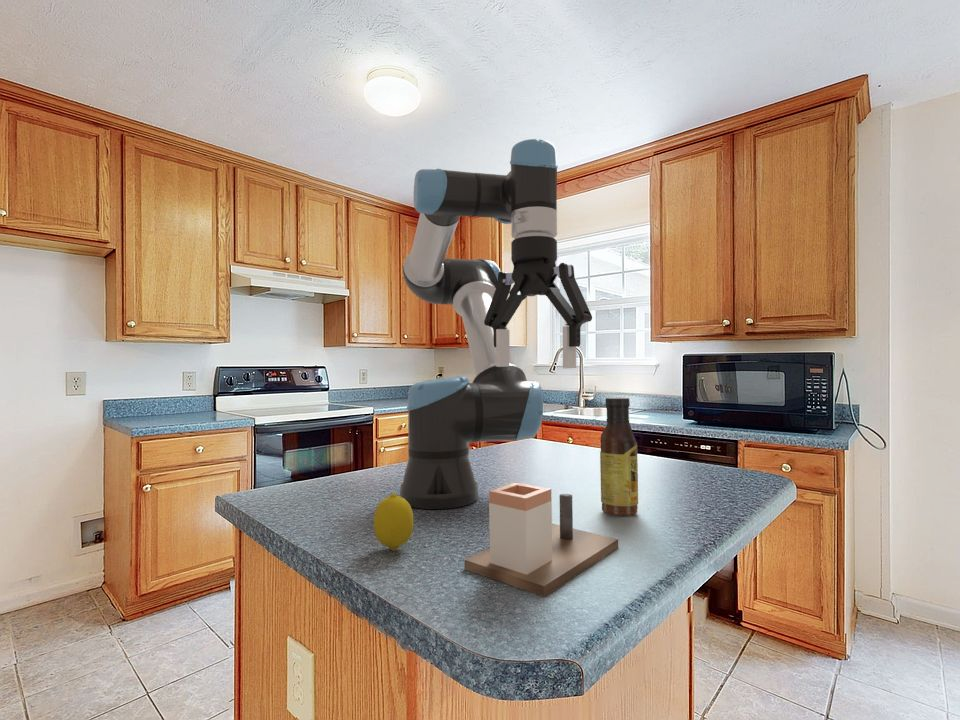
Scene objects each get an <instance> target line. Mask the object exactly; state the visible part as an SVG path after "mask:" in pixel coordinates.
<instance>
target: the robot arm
mask: <svg viewBox="0 0 960 720" xmlns="http://www.w3.org/2000/svg"><path fill="white" fill-rule="evenodd" d="M510 153H511V154H510V161H509V164H510V170H509V172H508V173H507V174H494V173H482V172H481V173H480V172H469V171H460V170H459V171H457V170H446V169H441V168H436V169H431V168H430V169H428V168H427V169H426V168H424V169H422V168H421V169H419V170H418V171H416V173H415V176H414V181H413V182H414V184H413V207H414V209H415V211H416V212H417V213H419V217H418V222H417V225H416V229H415V234H414V237H413V238H414V239H413V242H412V247H411V251H410V252H409V253H408V254H407V256H406V257H405V259H404V261H403V266H402V276H403V279H404V282H405V285H406V286H407V288H408V289H409V290H410V291H411V292H412V294H414V295H415V296H416V297H417V298H419V299H421V300H422V301H424V302H426V303H429V304H433V305H452V306H453V309H454V311H455V312H456V314H458V315H459V316H461V319H462V321H463V327H464V330H465V334H466V339H467V343H468V347H469V352H470V356H471V361H472V364H473V369H474V374H475V376H474V377H473V380H472V382H470V380H469V379H468V376H467V375H466V376H465V375H456V376H448V377H441V378H434V379H430V380H429V379H428V380H423V381H418V382H415V383H413V384H412V385H411V386H410V387H409V389H408V392H407V393H408V395H407V406H406V411H408V413H407V414H408V415H407V416H408V417H407V418H408V423H407V424H408V432H407V433H408V435H407V436H408V437H407V438H408V441H407V442H408V445H407V447H408V459H407V464H406V468H405V471H404V476H403V480H402V483H401V484H400V487H399V496H400V497H402V498H404V499H405V500H406V501H407V502H408V503H409V504H410V506H411V508H416V509H424V510H425V509H426V510H443V509H444V510H445V509H454V508H459V507H465V506H468V505H471V504H473V503H474V502H476V501H478V499H479V486H478V483H477V481H476V480H475V475H474V472H473V468H472V467H473V466H472V465H471V462H470V454H469V451H470V450H469V447H470V443H483V442H502V441H503V442H504V441H505V442H506V441H507V442H508V441H514V442H517V441H521V440H529V439H534V437H535V436H537V434H538V433H539V431H540V428H541V426H542V422H543V417H544V416H543V415H544V393H543V389H542V386H541V384H540V383H539V382H537V381H534V380H530V381H528V380H527V377H526V375H525V374H526V373H525V372H524V370H523V369H522V368H521V367H519V366H518V365H515V363H514V359H513V356H512V354H511V349H510V329H508V327H507V326H508V324H509V322H510V321H511V320H512V318H513V316H514V315H515V313H516V311H517V310H518V308H519V307H520V305H521V304H522V302H523V301H524V300H525V299H527V297H535V296H546V298H547V299H548V300H549V301H550V302H551V305H552V306H553V307H554V308H555V309H556V311H557V312H558V313H559V315H560V316H561V317H562V319H563V320H564V322H565V325H566V326H562V369H577V348H579V347H580V346H581V327H582V325H583V324H586V323H588V322H589V323H590V322H591V321H592V319H593V315H592V313H591V311H590V309H589V306H588V304H587V302H586V300H585V298H584V297H585V296H584V295H583V293H582V291H581V289H580V286H579V285H578V282H577V280H576V278H575V277H576V276H575V268H574V265H572V264H570V263H566V262H560V264H559V265H556V262H557V259H558V241H557V240H556V239H555V238H556V237H557V236H558V212H557V210H558V207H557V205H558V203H557V202H558V201H557V200H558V199H557V198H558V169H559V168H558V164H557V163H558V162H557V149H556V146H555V145H554V144H553V143H552V142H551V141H548V140H546V139H539V138H531V139H525V140H522V141H518V142H517V143H515V144H514V145H513V146H512V148H511V152H510ZM461 217H474V218H490V219H491V218H493V220H495V221H497V222H499V223H500V224H506V225H510V224H511V227H510V228H511V229H510V230H511V231H510V233H511V237H512V238H513V240H512V241H511V252H510V253H511V255H510V256H511V258H510V259H511V262H512V265H513V270H512V272H506V271H501V269H500V267H499V266H498V264H497V263H496V262H495V261H492V260H488V259H482V258H477V259H467V258H466V259H465V258H446V256H447V253H448V250H449V249H450V248H449V247H450V245H451V242H452V240H453V237H454V235H455V231H456V229H457V226H458V224H459V221H460V219H461ZM557 277H558V279H560V282H561V285H562V287H563V289H564V291H565V294H566V296H567V298H568V301H569V302H568V301H567V299H566V298H565V297H564V295H563V294H562V292H561V290H560V288H559V287H558V286H557V284H556V283H555V281H556V278H557ZM512 285H513V286H512ZM570 304H571V305H570Z"/></svg>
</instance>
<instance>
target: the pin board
mask: <svg viewBox="0 0 960 720" xmlns="http://www.w3.org/2000/svg"><path fill="white" fill-rule="evenodd" d="M573 511H574V510H573V494H571V493H561V494H559V524H555V523H552V561H550V562H548V563H546V564H545V565H543V566H541V567H539V568H538V569H536V570H534V571H532V572H531V573H529V574H527V575H526V574H523V573H520V572H517V571H513V570H510V569H507V568H504V567H501V566H498V565H495V564H492V563H490V547H489V548H487V549H485V550H483V551H480V552H478V553H476V554H474V555H471V556H470V557H467V558H465V559H464V570H466V571H469V572H471V573H475V574H477V575H480V576H483V577H486V578H489V579H492V580H494V581H496V582H497V581H498V582H500V583H503V584H507V585H509V586H512V587H515V588H517V589H521V590H524V591H527V592H529V593H533V594H534V595H538V596H540V597H541V596H542V597H546V596H548V595H549V594H551V593H552V592H554V591H555V590H557V589H558V588H561V586H563V585H565V584H566V583H567V582H569V581H570V580H572V579H573V578H575V577H577V576H578V575H580V574H581V573H583V572H584V571H585V570H587V569H589V568H590V567H591V566H593V565H595V564H596V563H597V562H599V561H601V560H602V559H603V558H605V557H606V556H608V555H609V554H611V553H612V552H614V551H615V550H617V549H618V548H619V538H615V537H611V536H607V535H602V534H597V533H593V532H590V531H585V530H581V529H578V528H577V529H576V528H573V527H574V526H573V521H574V520H573V519H574V517H573Z"/></svg>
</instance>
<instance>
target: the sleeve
mask: <svg viewBox="0 0 960 720" xmlns="http://www.w3.org/2000/svg"><path fill="white" fill-rule="evenodd" d="M552 508H553V507H552V488H549V487H543V486H538V485H537V486H536V485H531V484H527V483H521V482H512V483H510V484H507V485H503V486H501V487H498V488H497V487H496V488H494V489H491V490H489V491H488V509H489V515H488V516H489V548H490V563H492V564H495V565H498V566H501V567H504V568H507V569H510V570H513V571H517V572H520V573H523V574H526V575H527V574H529V573H531V572H532V571H534V570H536V569H538V568H539V567H541V566H543V565H545V564H546V563H548V562H550V561H552V524H553V522H552V521H553V520H552V519H553V517H552V515H553V513H552V512H553V511H552Z"/></svg>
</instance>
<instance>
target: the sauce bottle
mask: <svg viewBox="0 0 960 720" xmlns="http://www.w3.org/2000/svg"><path fill="white" fill-rule="evenodd" d="M604 404H605V407H606V419H605V421H606V426H605V427H604V429H603V430H602V433H601V435H600V451H599V455H600V456H599V459H600V461H599V462H600V463H599V464H600V469H599V470H600V472H599V473H600V502H601V511H602V512H603V513H604V514H606V515H609V516H614V517H631V516H635V515H636V514H637V513H638V508H639V507H638V505H639V472H638V471H639V470H638V465H639V464H638V442H637V440H636V437H635V434H634V431H633V430H632V426H631V424H630V415H629V414H630V411H629V410H630V409H629V408H630V398H629V397H624V396H623V397H606V398H605V403H604Z"/></svg>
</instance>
